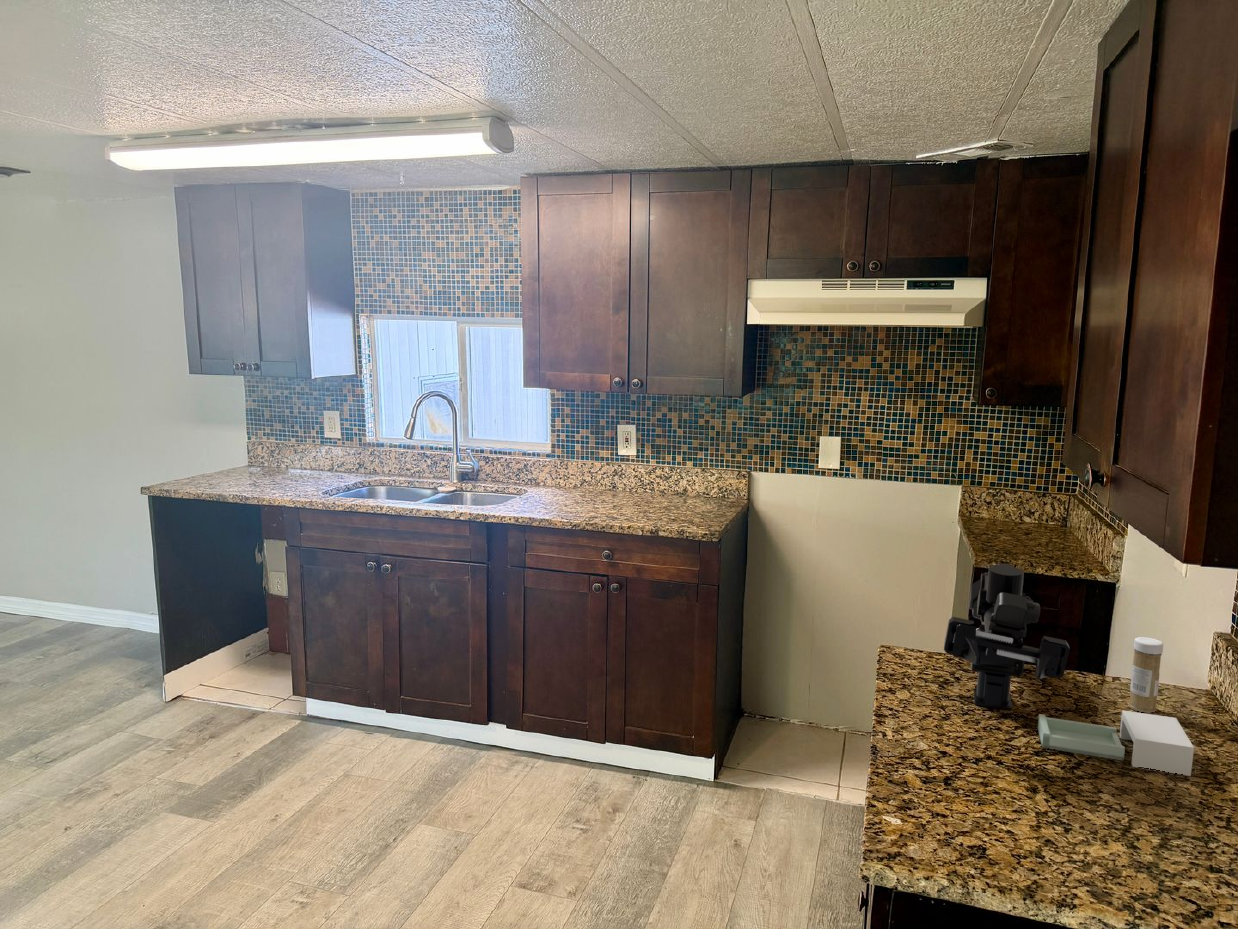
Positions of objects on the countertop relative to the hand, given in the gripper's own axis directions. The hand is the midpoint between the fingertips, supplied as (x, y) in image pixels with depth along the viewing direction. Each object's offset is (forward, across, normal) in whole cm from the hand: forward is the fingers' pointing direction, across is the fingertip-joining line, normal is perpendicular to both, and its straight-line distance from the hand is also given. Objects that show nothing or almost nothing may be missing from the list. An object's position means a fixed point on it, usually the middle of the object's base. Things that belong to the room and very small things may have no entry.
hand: (1008, 669), depth 135 cm
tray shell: (-11, +15, +16) cm, 24 cm away
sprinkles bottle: (-30, +28, +16) cm, 44 cm away
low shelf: (-11, +26, +14) cm, 31 cm away
